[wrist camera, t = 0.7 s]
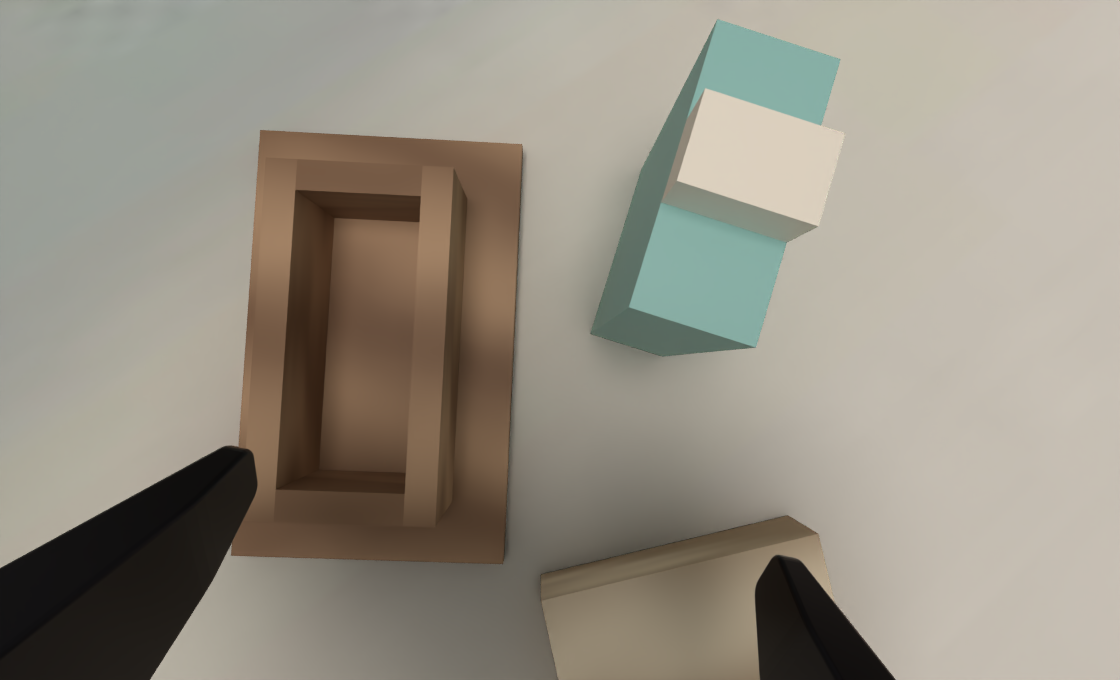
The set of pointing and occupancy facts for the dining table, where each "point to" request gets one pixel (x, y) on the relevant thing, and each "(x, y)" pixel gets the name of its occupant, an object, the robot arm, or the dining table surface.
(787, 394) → the dining table surface
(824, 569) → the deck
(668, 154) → the teal rectangular box
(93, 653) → the robot arm
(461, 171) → the tray
